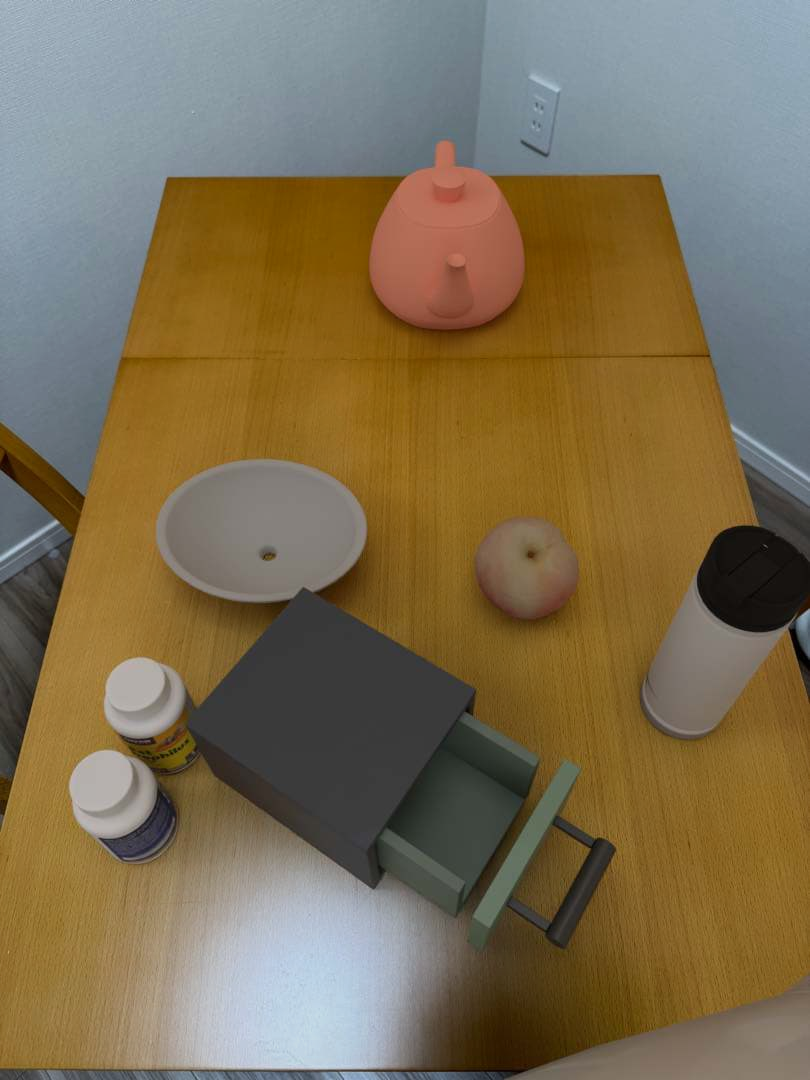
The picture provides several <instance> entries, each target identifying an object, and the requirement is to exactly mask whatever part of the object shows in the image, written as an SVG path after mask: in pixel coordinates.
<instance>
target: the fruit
mask: <svg viewBox="0 0 810 1080" xmlns="http://www.w3.org/2000/svg"><path fill="white" fill-rule="evenodd" d="M474 573H475V576H476V577H475V578H476V580H477V582H478V585H479V588H480V590H481V591H482V593H483V595H484V596H485V597H486V599H487V600H488V601H489V602H490V603H491V604H493V605H494V606H496V608H499V610H501V611H502V612H504V613H505V614H506V615H508V616H509V617H512V618H515V619H518V620H524V621H529V620H537V619H539V618H540V619H541V618H543V617H545V616H548V615H550V614H552V613H553V612H556V611H557V610H559V609H561V608H562V607H563V606H564V605H565V604H566V602H568V600H570V599H571V597H572V596H573V594H574V592H575V590H576V589H577V586H578V583H579V575H580V563H579V557H578V555H577V553H576V551H575V550H574V547H572V546H571V545H570V544H569V543H568V541H567V540H566V538H565V535H564V534H563V533H562V531H561V530H560V528H558V527H557V525H555V524H553V523H552V522H550V521H548V520H546V519H545V518H544V519H543V518H541V517H536V516H515V517H511V518H507V519H505V520H503V521H501V522H500V523H498V524H497V525H495V526H493V528H492V529H490V530H489V531H488V532H487V533H486V534H485V535H484V537H483V538H482V540H481V542H480V544H479V545H478V547H477V551H476V553H475V556H474Z"/></svg>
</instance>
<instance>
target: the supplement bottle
mask: <svg viewBox="0 0 810 1080" xmlns="http://www.w3.org/2000/svg"><path fill="white" fill-rule="evenodd" d="M104 689H105V690H104V691H105V695H104V699H103V711H104V712H103V713H104V717H105V718H106V721H107V723H108V724H109V726H110V727H111V728H112V730H113V731H114V732H115V734H116V735H117V737H118V738H119V740H120V741H121V742H122V743H123V745H124V746H125V747H126V749H127V750H128V752H129V753H130V754H131V755H132V757H134V758H137V759H139V760H141V761H142V762H144V763H145V764H146V765H147V766H148V767H149V768H150V769H151V771H152V772H153V773H154V774H155V775H156V774H157V775H169V774H170V775H171V774H176V773H178V772H180V771H183V770H185V769H186V768H188V767H189V766H191V765H192V764H193V763H194V762H195V761H196V760H197V758H198V757H199V756H200V754H202V753H201V752H200V750H199V748H198V746H197V744H196V743H195V741H194V739H193V737H192V736H191V734H190V732H189V730H188V729H187V727H186V725H185V722H186V721H187V720H188V719H189V718H190V717H191V715H192V714H193V713H194V712H195V711H196V710H197V708H198V707H197V706H196V703H195V702H194V700H193V697H192V695H191V694H190V692H189V689H188V687H187V686H186V684H185V682H184V680H183V679H182V677H181V675H180V673H178V672H177V671H176V670H175V669H174V668H173V667H172V666H169V665H168V664H164V663H162V662H157V661H156V660H154V659H153V658H148V657H144V656H143V657H142V656H141V657H140V656H138V657H133V658H128V659H126V660H124V661H122V662H121V663H120V664H118V665H117V666H115V668H113V670H112V671H111V672H110V674H109V675H108V677H107V680H106V681H105V688H104Z"/></svg>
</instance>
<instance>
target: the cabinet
mask: <svg viewBox="0 0 810 1080" xmlns="http://www.w3.org/2000/svg"><path fill="white" fill-rule="evenodd" d="M476 695H477V688H475V687H473V686H472V685H470V684H468V683H467V682H465V681H464V680H461V679H459V678H458V677H456V676H455V675H454V674H452V673H450V672H448V671H446V670H445V669H443V668H441V667H439V666H438V665H436V664H434V663H432V662H431V661H429V660H428V659H426V658H424V657H422V656H421V655H419V654H418V653H416V652H414V651H412V650H411V649H409V648H407V647H406V646H404V645H403V644H401V643H400V642H398V641H395V640H394V639H392V638H391V637H389V636H387V635H386V634H384V633H382V632H380V631H378V629H375V628H374V627H372V626H370V625H369V624H368V623H365V622H364V621H362V620H361V619H359V618H357V617H355V616H354V615H352V614H351V613H349V612H347V611H345V610H343V609H341V608H340V607H339V606H337V605H335V604H333V603H331V602H330V601H328V600H327V599H325V598H323V597H321V596H320V595H318V594H316V592H315V593H313V592H311V591H310V590H308V589H306V588H305V587H302V589H301V590H300V591H299V592H298V593H297V594H296V595H295V597H294V598H293V599H292V600H289V602H288V603H287V605H286V606H284V608H283V609H282V610H281V611H280V612H279V614H278V615H277V616H276V618H274V619H273V621H272V622H271V623H270V624H269V625H268V626H267V628H266V629H265V630H264V631H263V632H262V633H261V635H260V636H259V637H258V638H257V639H256V640H255V642H254V643H252V645H251V646H250V647H249V649H247V650H246V652H245V653H244V654H243V655H242V657H241V658H240V659H238V661H237V662H236V663H235V665H234V666H233V667H232V668H231V669H230V670H229V671H228V673H227V674H226V675H225V676H224V677H223V679H221V681H220V682H219V683H218V684H217V685H216V687H215V688H214V689H213V690H212V691H211V692H210V693H209V695H208V696H206V698H205V699H204V700H203V701H202V702H201V704H200V705H199V706H198V707H197V710H196V711H195V712H194V713H193V714H192V715H191V717H190V718H189V719H188V720H187V721H186V722H185V725H186V727H187V729H188V730H189V732H190V734H191V736H192V737H193V739H194V741H195V743H196V744H197V746H198V748H199V750H200V752H201V753H200V754H201V755H202V757H203V759H204V760H205V762H206V764H207V766H208V767H209V769H210V770H211V773H212V775H213V776H214V777H215V778H217V779H218V780H220V781H221V782H222V783H224V784H226V785H227V786H228V787H229V788H231V789H232V790H234V791H235V792H237V793H238V794H239V795H241V796H242V797H243V798H245V799H247V800H248V801H249V802H250V803H251V804H253V805H254V806H256V807H257V808H259V809H260V810H261V811H263V812H264V813H266V814H267V815H268V816H270V817H271V818H273V819H274V820H276V821H277V822H278V823H279V824H281V825H282V826H283V827H286V829H288V830H289V831H290V832H292V833H293V834H295V835H297V836H298V837H299V838H300V839H302V840H303V841H305V842H306V843H307V844H309V845H310V846H312V847H313V848H315V849H316V850H318V851H319V852H320V853H321V854H323V855H325V856H326V857H327V858H328V859H330V860H331V861H332V862H334V863H335V864H337V865H338V866H340V867H341V869H344V870H345V871H347V872H348V873H349V874H351V875H352V876H354V877H355V878H356V879H358V880H359V881H360V882H362V883H363V884H364V885H366V886H367V887H369V888H370V889H372V890H373V891H374V890H375V889H376V888H377V886H378V885H379V883H380V882H381V880H382V879H383V877H384V876H385V874H386V873H387V871H386V870H385V869H383V868H382V867H381V866H379V865H378V864H377V858H376V851H375V845H374V844H375V843H376V841H377V840H378V838H379V837H380V835H381V834H382V833H383V831H384V830H385V828H386V827H387V825H388V824H389V822H390V821H391V819H392V818H393V816H394V815H395V813H396V812H397V810H398V809H399V807H400V806H401V804H402V803H403V801H404V800H405V799H406V797H407V796H408V794H409V793H410V791H411V790H412V788H413V787H414V785H415V784H416V782H417V781H418V779H419V778H420V776H421V775H422V773H423V772H424V770H425V769H426V768H427V766H428V765H429V763H430V762H431V760H432V759H433V757H434V756H435V754H436V753H437V751H438V750H439V748H440V747H441V745H442V744H443V742H444V741H445V739H446V738H447V737H448V735H449V734H450V732H451V731H452V729H453V728H454V726H455V725H456V723H457V722H458V720H459V719H460V717H461V716H462V714H463V713H464V711H465V712H467V713H469V714H470V715H472V716H474V712H475V703H476Z"/></svg>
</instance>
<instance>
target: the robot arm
mask: <svg viewBox="0 0 810 1080" xmlns="http://www.w3.org/2000/svg"><path fill="white" fill-rule="evenodd" d="M502 1080H810V972H809V973H807V974H806V975H805V976H804V977H802V978H800V979H799V980H798V981H796V983H794V984H793V985H792V986H790V987H789V988H787V989H786V990H784V991H783V992H781V993H780V994H778V995H775V996H774V995H773V996H771V997H768V998H764V999H761V1000H757V1001H752V1002H750V1003H746V1004H741V1005H739V1006H735V1007H731V1008H728V1009H724V1010H721V1011H717V1012H713V1013H711V1014H705V1015H702V1016H699V1017H695V1018H692V1019H688V1020H685V1021H682V1022H678V1023H674V1024H670V1025H667V1026H663V1027H660V1028H656V1029H653V1030H648V1031H646V1032H641V1033H638V1034H634V1035H630V1036H627V1037H623V1038H619V1039H616V1040H612V1041H610V1042H609V1041H608V1042H606V1043H602V1044H598V1045H596V1046H593V1047H590V1048H588V1049H585V1050H582V1051H579V1052H577V1053H573V1054H571V1055H568V1056H565V1057H562V1058H559V1059H557V1060H553V1061H551V1062H548V1063H545V1064H543V1065H540V1066H537V1067H535V1068H532V1069H529V1070H526V1071H523V1072H520V1073H518V1074H515V1075H511V1076H509V1077H506V1078H504V1079H502Z"/></svg>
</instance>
